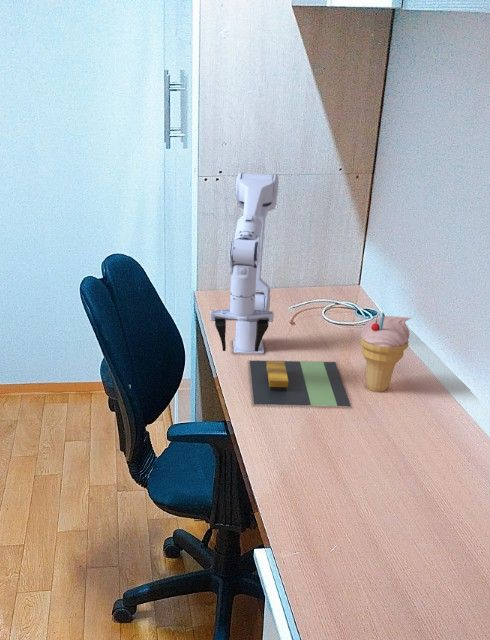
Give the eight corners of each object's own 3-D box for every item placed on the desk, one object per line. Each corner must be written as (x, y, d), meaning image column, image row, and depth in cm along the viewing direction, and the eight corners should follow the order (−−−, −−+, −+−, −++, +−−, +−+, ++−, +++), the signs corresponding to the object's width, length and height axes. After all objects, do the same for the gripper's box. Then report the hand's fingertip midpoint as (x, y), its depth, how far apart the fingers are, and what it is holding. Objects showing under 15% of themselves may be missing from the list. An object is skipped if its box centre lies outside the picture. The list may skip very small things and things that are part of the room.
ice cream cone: (401, 399, 170) (415, 316, 160) (353, 395, 172) (364, 312, 161) (399, 380, 179) (412, 301, 169) (353, 377, 181) (364, 297, 171)
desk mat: (249, 361, 189) (249, 360, 189) (334, 363, 189) (334, 362, 188) (254, 405, 167) (254, 404, 167) (350, 407, 166) (350, 406, 166)
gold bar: (265, 371, 183) (266, 361, 182) (283, 371, 183) (284, 361, 181) (268, 391, 173) (269, 380, 171) (287, 392, 173) (288, 381, 171)
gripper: (211, 298, 163) (209, 355, 170) (276, 299, 163) (271, 356, 170) (211, 289, 169) (209, 344, 176) (273, 289, 169) (269, 345, 176)
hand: (240, 349), depth 173 cm, fingers open, 7 cm apart
